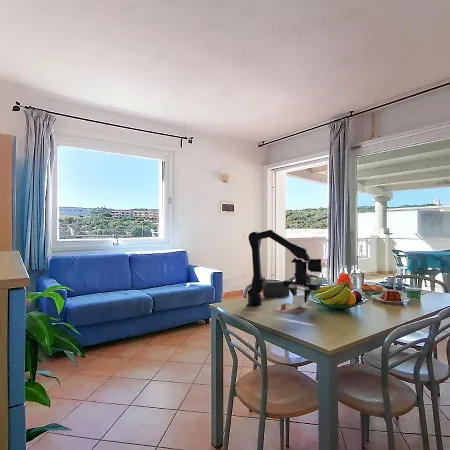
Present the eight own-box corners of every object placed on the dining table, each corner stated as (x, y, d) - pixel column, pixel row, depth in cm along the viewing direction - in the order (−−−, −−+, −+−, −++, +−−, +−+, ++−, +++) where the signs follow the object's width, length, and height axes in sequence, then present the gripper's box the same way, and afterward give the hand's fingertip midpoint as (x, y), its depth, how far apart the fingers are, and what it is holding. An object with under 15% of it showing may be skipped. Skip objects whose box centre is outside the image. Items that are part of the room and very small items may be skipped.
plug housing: (292, 305, 160) (292, 296, 160) (301, 301, 168) (301, 292, 168) (302, 306, 157) (302, 297, 157) (310, 302, 165) (310, 293, 165)
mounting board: (270, 311, 158) (270, 305, 158) (286, 304, 172) (286, 298, 172) (297, 316, 149) (297, 309, 149) (313, 308, 163) (313, 302, 163)
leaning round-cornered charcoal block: (287, 295, 193) (287, 280, 193) (289, 297, 189) (289, 281, 189) (261, 296, 191) (261, 281, 191) (263, 298, 186) (263, 282, 186)
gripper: (324, 271, 162) (324, 301, 162) (291, 268, 174) (291, 296, 174) (316, 273, 153) (316, 305, 153) (281, 270, 165) (281, 300, 165)
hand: (300, 301), depth 162 cm, fingers closed on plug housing, 5 cm apart
